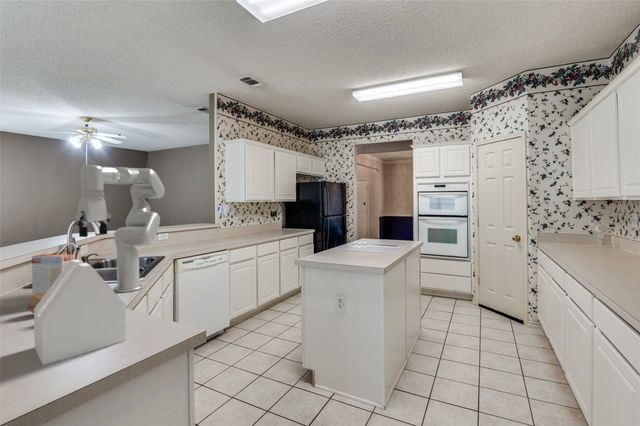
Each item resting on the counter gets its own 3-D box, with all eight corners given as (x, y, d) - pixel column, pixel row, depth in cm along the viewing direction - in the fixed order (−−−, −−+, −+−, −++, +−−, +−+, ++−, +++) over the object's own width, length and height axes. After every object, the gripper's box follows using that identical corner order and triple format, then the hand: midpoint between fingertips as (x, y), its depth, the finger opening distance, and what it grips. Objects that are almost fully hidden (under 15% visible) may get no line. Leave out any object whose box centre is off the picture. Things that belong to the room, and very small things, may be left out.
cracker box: (74, 301, 134) (73, 254, 134) (61, 305, 128) (60, 256, 128) (45, 300, 136) (45, 253, 135) (31, 304, 130) (31, 255, 129)
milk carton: (42, 365, 80) (41, 271, 80) (34, 347, 90) (33, 264, 90) (125, 341, 95) (124, 261, 94) (110, 328, 105) (109, 256, 104)
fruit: (22, 317, 114) (22, 296, 114) (42, 310, 122) (41, 291, 121) (42, 318, 114) (42, 297, 113) (61, 311, 121) (60, 291, 121)
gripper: (101, 195, 136) (102, 233, 137) (65, 194, 119) (66, 237, 120) (117, 195, 135) (118, 233, 136) (82, 194, 118) (83, 238, 119)
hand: (93, 235), depth 128 cm, fingers open, 9 cm apart
